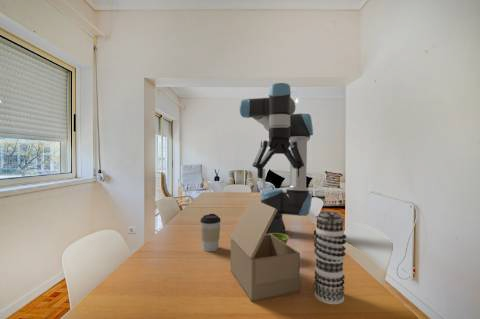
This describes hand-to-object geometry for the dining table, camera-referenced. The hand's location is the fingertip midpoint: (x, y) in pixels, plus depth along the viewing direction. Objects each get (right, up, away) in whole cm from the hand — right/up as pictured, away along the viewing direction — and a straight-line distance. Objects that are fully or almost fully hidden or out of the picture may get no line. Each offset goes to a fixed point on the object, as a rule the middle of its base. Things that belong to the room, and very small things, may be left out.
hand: (278, 186), depth 91 cm
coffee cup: (-27, -30, +23) cm, 47 cm away
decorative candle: (+13, -31, -15) cm, 37 cm away
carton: (-6, -31, -6) cm, 32 cm away
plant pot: (+1, -31, +14) cm, 34 cm away
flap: (-10, -12, -8) cm, 17 cm away
